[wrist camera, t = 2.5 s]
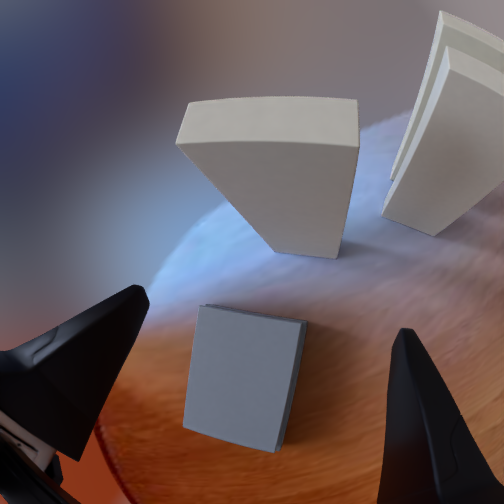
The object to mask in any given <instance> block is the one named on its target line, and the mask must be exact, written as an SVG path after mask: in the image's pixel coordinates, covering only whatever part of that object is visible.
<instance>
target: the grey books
mask: <svg viewBox="0 0 504 504" xmlns="http://www.w3.org/2000/svg"><path fill="white" fill-rule="evenodd" d="M307 324H308V321H305V320H298V319H292V318H285V317H279V316H273V315H267V314H261V313H255V312H249V311H243V310H238V309H232V308H227V307H222V306H217V305H210V304H206V305H205V306H202V305H200V306H199V311H198V317H197V323H196V330H195V336H194V343H193V350H192V357H191V364H190V372H189V379H188V387H187V395H186V403H185V412H184V421H183V427H185V428H187V429H190V430H193V431H196V432H199V433H202V434H205V435H208V436H211V437H214V438H217V439H221V440H224V441H227V442H231V443H235V444H238V445H242V446H246V447H250V448H254V449H258V450H263V451H267V452H272V453H275V450H276V451H280V450H281V447H282V444H283V440H284V436H285V432H286V428H287V424H288V420H289V415H290V411H291V406H292V402H293V397H294V393H295V388H296V383H297V378H298V373H299V368H300V363H301V358H302V353H303V347H304V342H305V336H306V330H307Z"/></svg>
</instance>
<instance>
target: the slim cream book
mask: <svg viewBox="0 0 504 504" xmlns="http://www.w3.org/2000/svg"><path fill="white" fill-rule="evenodd" d="M176 145H177V146H178V147H179V148H180V149H181V150H182V152H183V153H184V154H185V155H186V156H187V157H188V158H189V159H190V160H191V161H192V162H193V163H194V164H195V165H196V166H197V168H198V169H199V170H200V171H201V172H202V173H203V174H204V175H205V176H206V177H207V178H208V179H209V181H210V182H211V183H212V184H213V185H214V186H215V187H216V188H217V189H218V190H219V191H220V192H221V194H222V195H223V196H224V197H225V198H226V199H227V200H228V201H229V202H230V203H231V204H232V206H233V207H234V208H235V209H236V210H237V211H238V212H239V213H240V214H241V215H242V216H243V218H244V219H245V220H246V221H247V222H248V223H249V224H250V225H251V226H252V227H253V229H254V230H255V231H256V232H257V233H258V234H259V235H260V236H261V237H262V239H263V240H264V241H265V242H266V243H267V244H268V245H269V246H270V247H271V249H272V250H273V251H274V252H279V253H288V254H296V255H305V256H313V257H322V258H330V259H337V256H338V252H339V248H340V244H341V240H342V235H343V231H344V227H345V222H346V218H347V213H348V208H349V203H350V198H351V193H352V188H353V183H354V178H355V172H356V166H357V161H358V154H359V148H360V130H359V105H358V100H352V99H341V98H327V97H302V96H299V97H298V96H269V97H245V98H229V99H217V100H207V101H198V102H191V103H189V105H188V108H187V111H186V113H185V116H184V119H183V122H182V125H181V128H180V131H179V134H178V137H177V140H176Z"/></svg>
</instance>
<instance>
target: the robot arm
mask: <svg viewBox="0 0 504 504" xmlns="http://www.w3.org/2000/svg"><path fill="white" fill-rule="evenodd" d="M149 305H150V303H149V299H148V297H147V294H146V292H145V289H144V288H143V287H142V286H139V285H131V286H129V287H127V288H126V289H124V290H122V291H120V292H118V293H116V294H114V295H113V296H111V297H109V298H107V299H105V300H103V301H102V302H100V303H98V304H96V305H95V306H93V307H91V308H89V309H87V310H85V311H84V312H82V313H80V314H78V315H76V316H75V317H73V318H71V319H69V320H68V321H66V322H64V323H62V324H60V325H59V326H57V327H55V328H53V329H52V330H50V331H48V332H46V333H44V334H42V335H40V336H38V337H37V338H34V339H32V340H30V341H28V342H26V343H24V344H22V345H20V346H18V347H16V348H14V349H11V350H8V351H0V494H1V495H2V496H3V498H4V499H5V500H6V501H7V502H8V504H81V503H80V502H78V501H77V500H76V499H75V498H73V497H72V496H71V495H70V494H68V493H67V492H66V491H65V490H63V489H62V488H61V487H60V484H61V483H62V481H63V476H62V471H61V466H60V461H59V456H58V455H57V454H55V453H56V452H57V450H58V451H59V452H61V453H63V454H64V455H66V456H68V457H70V458H72V459H73V460H75V461H77V462H79V460H80V458H81V456H82V454H83V451H84V449H85V446H86V444H87V442H88V439H89V437H90V435H91V432H92V430H93V428H94V426H95V423H96V421H97V419H98V416H99V414H100V412H101V410H102V408H103V405H104V403H105V401H106V399H107V397H108V395H109V393H110V391H111V389H112V386H113V384H114V382H115V380H116V378H117V376H118V374H119V372H120V370H121V368H122V366H123V364H124V362H125V360H126V358H127V356H128V354H129V352H130V350H131V348H132V347H133V345H134V343H135V340H136V338H137V336H138V333H139V331H140V328H141V326H142V324H143V321H144V319H145V316H146V314H147V311H148V309H149ZM460 414H461V413H460V411H459V409H458V407H457V405H456V403H455V401H454V399H453V397H452V395H451V393H450V391H449V390H448V388H447V386H446V384H445V382H444V380H443V379H442V377H441V375H440V373H439V371H438V370H437V368H436V366H435V364H434V363H433V361H432V359H431V358H430V356H429V354H428V352H427V351H426V349H425V347H424V346H423V344H422V343H421V341H420V339H419V338H418V336H417V334H416V333H415V331H414V330H413V329H410V328H401V329H400V330H399V332H398V335H397V337H396V339H395V341H394V343H393V346H392V352H391V364H390V373H389V382H388V390H387V413H386V431H385V444H384V455H383V464H382V472H381V479H380V486H379V492H378V498H377V504H504V486H503V485H502V484H501V483H500V482H499V481H498V480H497V479H496V477H495V476H494V474H493V473H492V471H491V469H490V467H489V465H488V463H487V462H486V460H485V458H484V456H483V455H482V453H481V451H480V449H479V448H478V446H477V444H476V442H475V440H474V439H473V437H472V435H471V433H470V431H469V429H468V427H467V425H466V423H465V421H464V419H463V417H462V415H460Z"/></svg>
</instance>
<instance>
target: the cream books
mask: <svg viewBox="0 0 504 504" xmlns="http://www.w3.org/2000/svg"><path fill="white" fill-rule="evenodd" d="M390 180H393V181H394V182H393V184H392V186H391V188H390V190H389V192H388V195H387V197H386V199H385V202H384V205H383V209H382V213H381V216H382V217H385V218H387V219H390V220H393V221H395V222H398V223H401V224H403V225H406V226H408V227H411V228H413V229H416V230H418V231H421V232H423V233H426V234H428V235H431V236H433V237H434V236H435V235H437V234H438V233H439V232H441V231H442V230H444V229H445V228H446V227H448V226H449V225H450V224H452V223H453V222H454V221H456V220H457V219H458V218H459V217H461V216H462V215H463V214H465V213H466V212H467V211H468V210H470V209H471V208H472V207H473V206H475V205H476V204H477V203H478V202H480V201H481V200H482V199H483V198H484V197H486V196H487V195H488V194H489V193H490V192H492V191H493V190H494V189H495V188H496V187H497V186H499V185H500V184H501V183H502V182H503V181H504V40H502V39H500V38H498V37H497V36H495V35H493V34H491V33H490V32H488V31H486V30H484V29H482V28H480V27H478V26H476V25H474V24H471V23H469V22H467V21H465V20H463V19H461V18H458V17H456V16H454V15H451V14H449V13H446V12H444V11H441V10H440V12H439V18H438V23H437V27H436V32H435V36H434V40H433V44H432V49H431V52H430V56H429V60H428V64H427V67H426V71H425V74H424V78H423V81H422V85H421V88H420V91H419V94H418V97H417V100H416V104H415V107H414V110H413V112H412V115H411V118H410V121H409V124H408V127H407V130H406V132H405V135H404V138H403V140H402V143H401V146H400V148H399V151H398V154H397V156H396V159H395V161H394V164H393V167H392V172H391V176H390Z"/></svg>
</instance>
